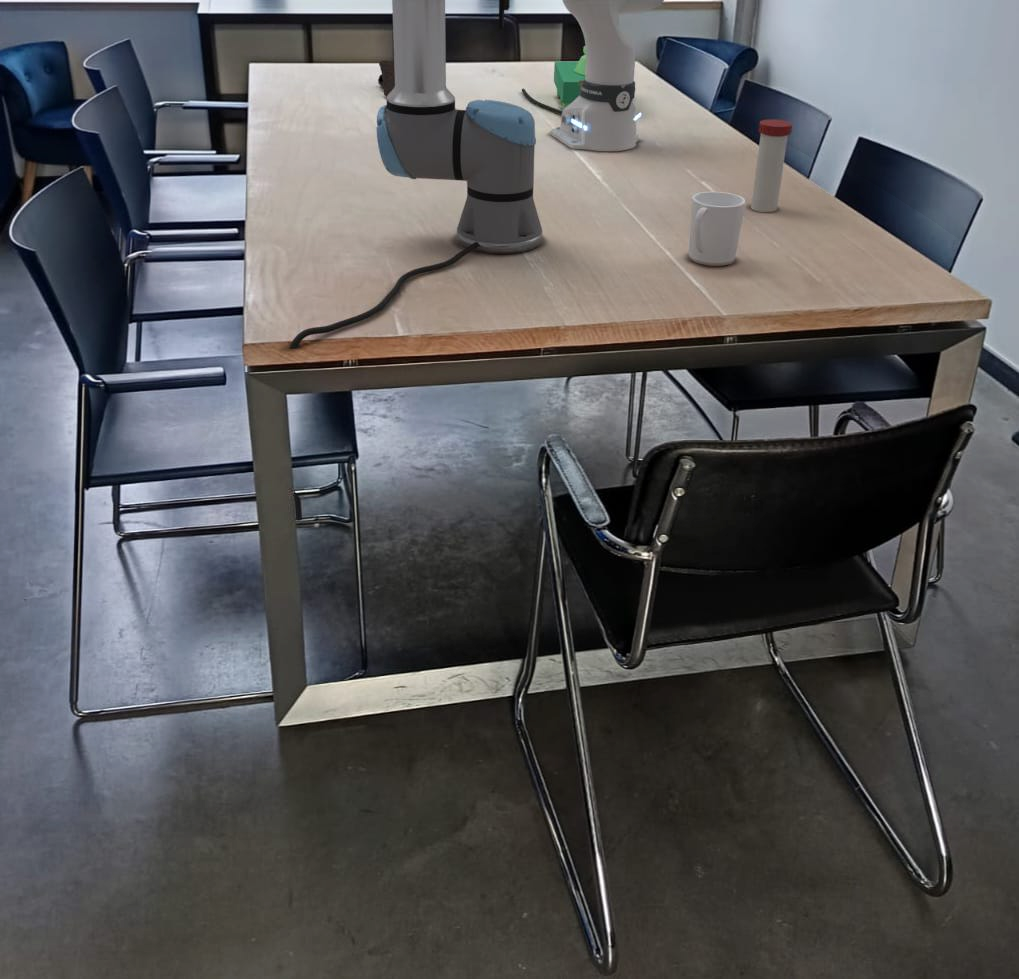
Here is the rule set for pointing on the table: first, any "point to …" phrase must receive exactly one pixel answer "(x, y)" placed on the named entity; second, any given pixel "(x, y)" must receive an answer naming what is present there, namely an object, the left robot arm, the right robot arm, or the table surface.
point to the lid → (775, 127)
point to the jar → (768, 173)
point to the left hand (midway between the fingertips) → (468, 26)
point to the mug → (715, 227)
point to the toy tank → (569, 79)
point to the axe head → (387, 76)
